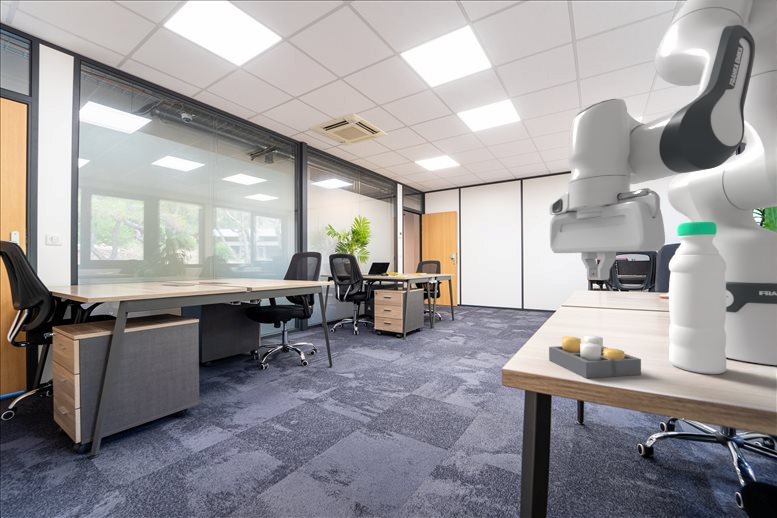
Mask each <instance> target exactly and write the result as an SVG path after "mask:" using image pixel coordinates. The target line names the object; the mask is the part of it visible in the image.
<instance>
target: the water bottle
mask: <svg viewBox="0 0 777 518" xmlns="http://www.w3.org/2000/svg"><path fill="white" fill-rule="evenodd" d="M716 231H717V227H716V224H715V223H714V222H692V221H690V222H683V223H680V224H678V226H677V236H678V239H680V245H679V246H678V248H676V250H675V253H674V255H673V256H672V257H671V259H670V260H669V263H668V269H669V271H670V273H669V274H670V275H669V281H668V282H669V283H668V284H669V287H668V307H669V308H668V309H669V310H668V311H669V319H670V320H669V321H670V324H669V328H668V338H669V341H670V342H669V348H668V361H669V362H670V364H671V365H673V366H674V367H677V368H679V369H682V370H685V371H688V372H693V373H699V374H706V375H720V374H722V373H725V372H726V371H727V357H726V354H725V346H726V333H725V329H724V326H725V319H726V282H725V275H724V273H725V271H726V263H725V261H724V259H723V258H722V256H721V255H719V251H718V249H717V248H716V247H715V246H714V245H713V243H712V240H713V238H714V237H715V234H716Z"/></svg>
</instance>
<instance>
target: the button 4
mask: <svg viewBox="0 0 777 518" xmlns="http://www.w3.org/2000/svg"><path fill="white" fill-rule="evenodd" d="M624 354H625V351H624V350H621V349H617V348H611V347H606V348H605V349H603V356H605V357H608V358H610V359H613V360H616V359H624Z"/></svg>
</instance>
